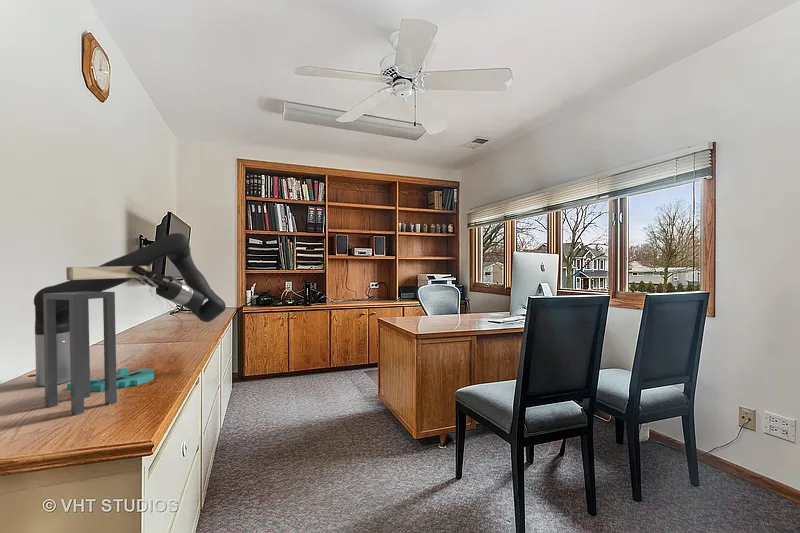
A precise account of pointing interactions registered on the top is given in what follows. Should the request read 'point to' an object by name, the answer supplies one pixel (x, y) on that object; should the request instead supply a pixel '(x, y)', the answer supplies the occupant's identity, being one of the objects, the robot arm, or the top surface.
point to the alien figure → (123, 379)
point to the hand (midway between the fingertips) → (129, 267)
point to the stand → (79, 347)
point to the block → (101, 272)
